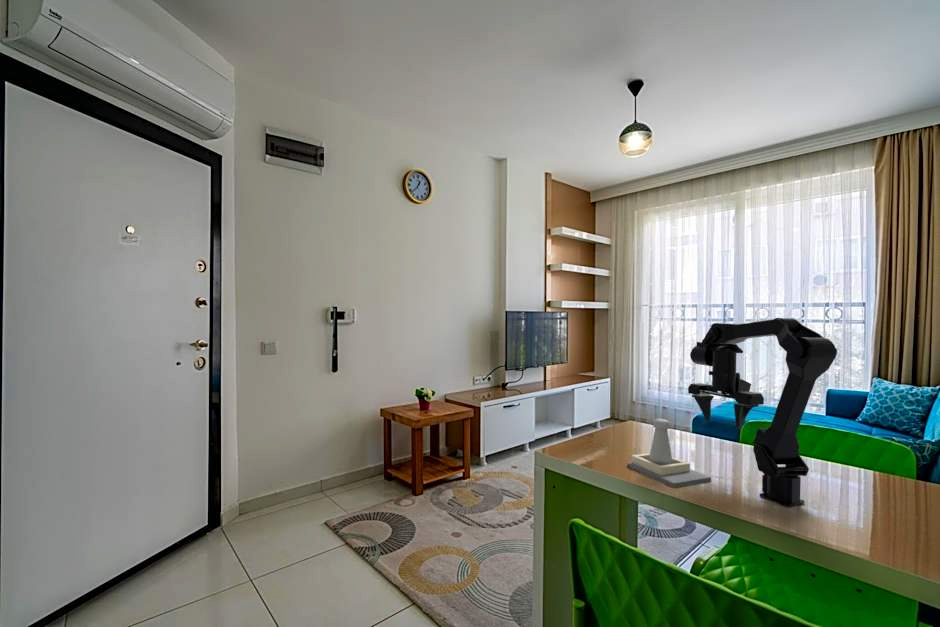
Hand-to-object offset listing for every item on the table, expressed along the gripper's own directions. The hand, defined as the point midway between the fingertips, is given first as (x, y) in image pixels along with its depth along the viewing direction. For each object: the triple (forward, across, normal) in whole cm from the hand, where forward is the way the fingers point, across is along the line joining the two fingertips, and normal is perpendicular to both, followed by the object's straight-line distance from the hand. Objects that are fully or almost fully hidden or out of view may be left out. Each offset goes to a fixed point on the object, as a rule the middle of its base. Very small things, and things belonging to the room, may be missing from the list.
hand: (722, 424), depth 119 cm
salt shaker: (+12, +6, +16) cm, 21 cm away
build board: (+13, +4, +16) cm, 21 cm away
